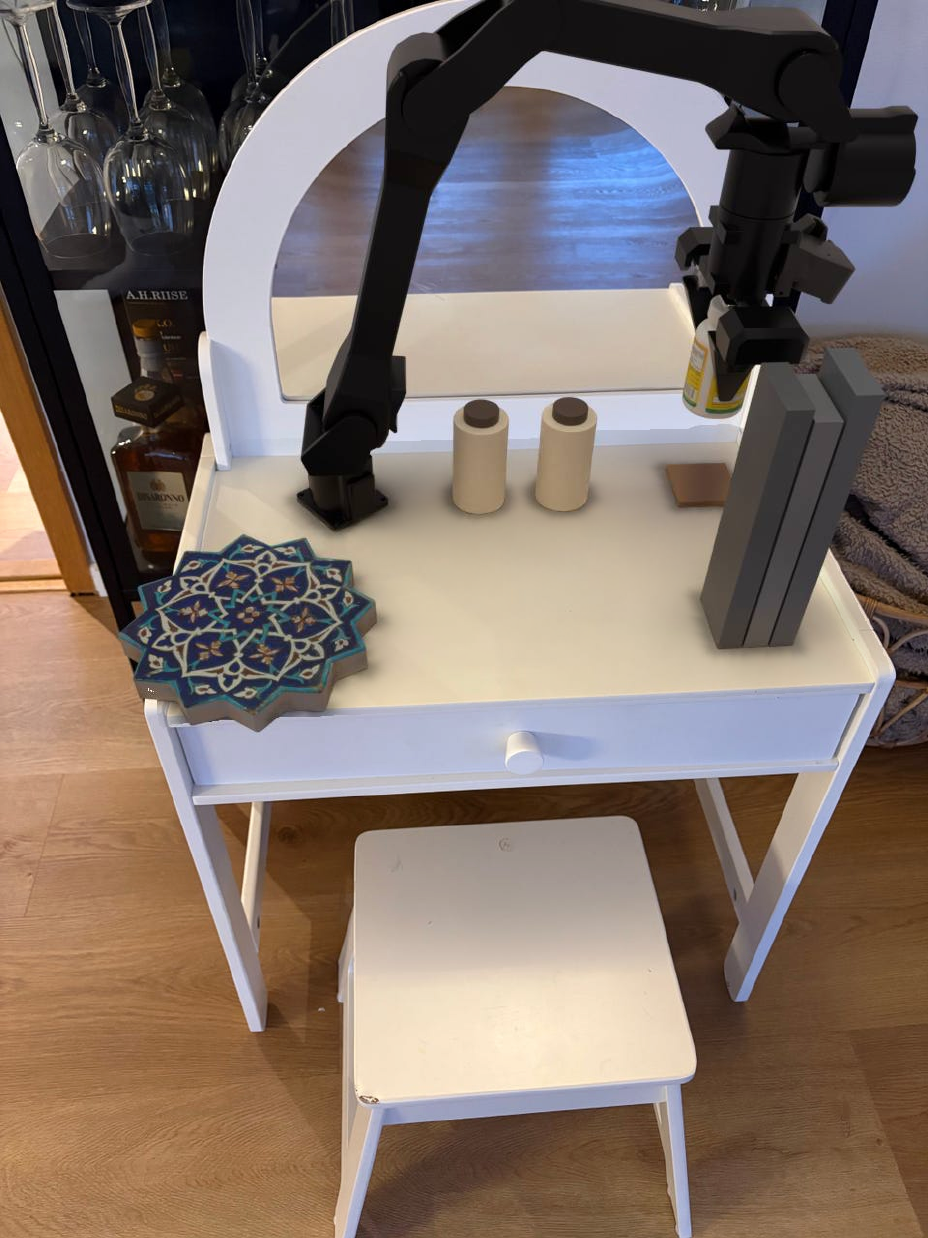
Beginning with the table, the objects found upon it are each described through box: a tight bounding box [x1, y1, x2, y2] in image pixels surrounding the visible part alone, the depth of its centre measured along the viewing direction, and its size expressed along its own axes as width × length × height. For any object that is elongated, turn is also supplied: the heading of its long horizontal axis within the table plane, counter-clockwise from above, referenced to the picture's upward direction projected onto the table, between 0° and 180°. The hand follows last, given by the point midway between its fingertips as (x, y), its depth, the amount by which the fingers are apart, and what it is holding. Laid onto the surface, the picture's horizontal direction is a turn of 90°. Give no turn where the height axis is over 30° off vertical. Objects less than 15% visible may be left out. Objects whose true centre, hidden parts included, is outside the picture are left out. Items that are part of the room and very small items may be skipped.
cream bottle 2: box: [534, 396, 598, 512], centre depth 91 cm, size 5×5×10 cm
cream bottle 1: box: [452, 398, 510, 515], centre depth 91 cm, size 5×5×10 cm
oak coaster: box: [665, 462, 732, 508], centre depth 96 cm, size 6×6×1 cm
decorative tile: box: [117, 533, 378, 733], centre depth 80 cm, size 20×20×2 cm
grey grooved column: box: [699, 347, 886, 649], centre depth 75 cm, size 6×6×24 cm
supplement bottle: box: [681, 296, 753, 420], centre depth 84 cm, size 5×5×10 cm
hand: (716, 382), depth 86 cm, fingers closed on supplement bottle, 5 cm apart
